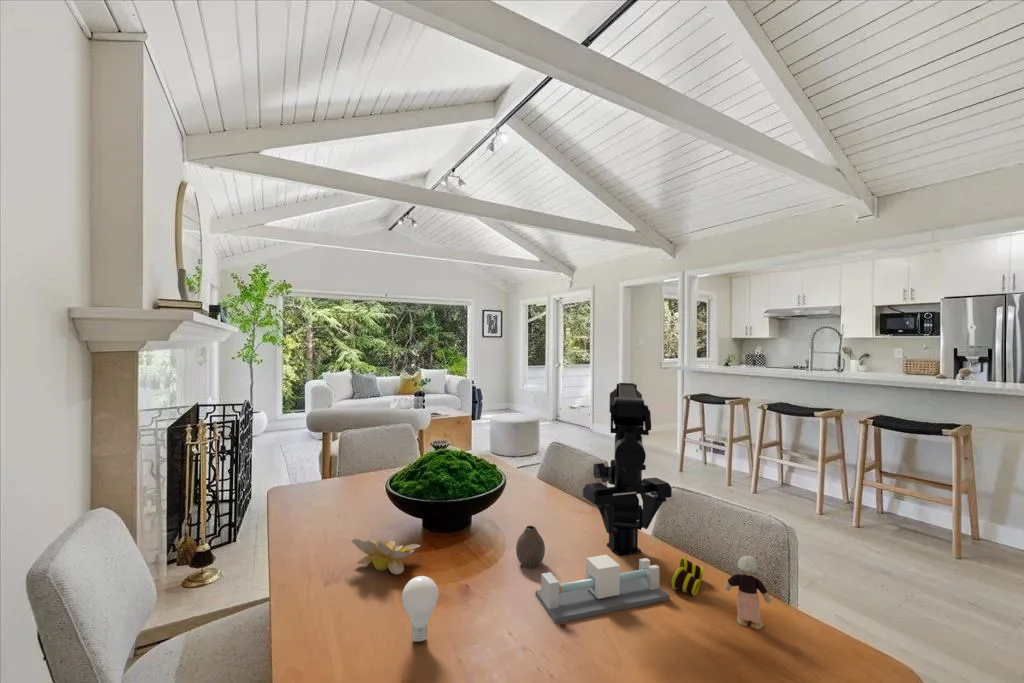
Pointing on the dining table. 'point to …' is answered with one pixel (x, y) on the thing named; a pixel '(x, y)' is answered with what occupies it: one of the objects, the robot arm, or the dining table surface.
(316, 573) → the dining table surface
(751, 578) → the grandmother figurine
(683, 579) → the opera glasses
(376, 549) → the decorative flower
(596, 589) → the white square tube
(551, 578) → the linear slide rail
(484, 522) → the dining table surface
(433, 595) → the lightbulb
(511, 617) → the dining table surface
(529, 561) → the vase
